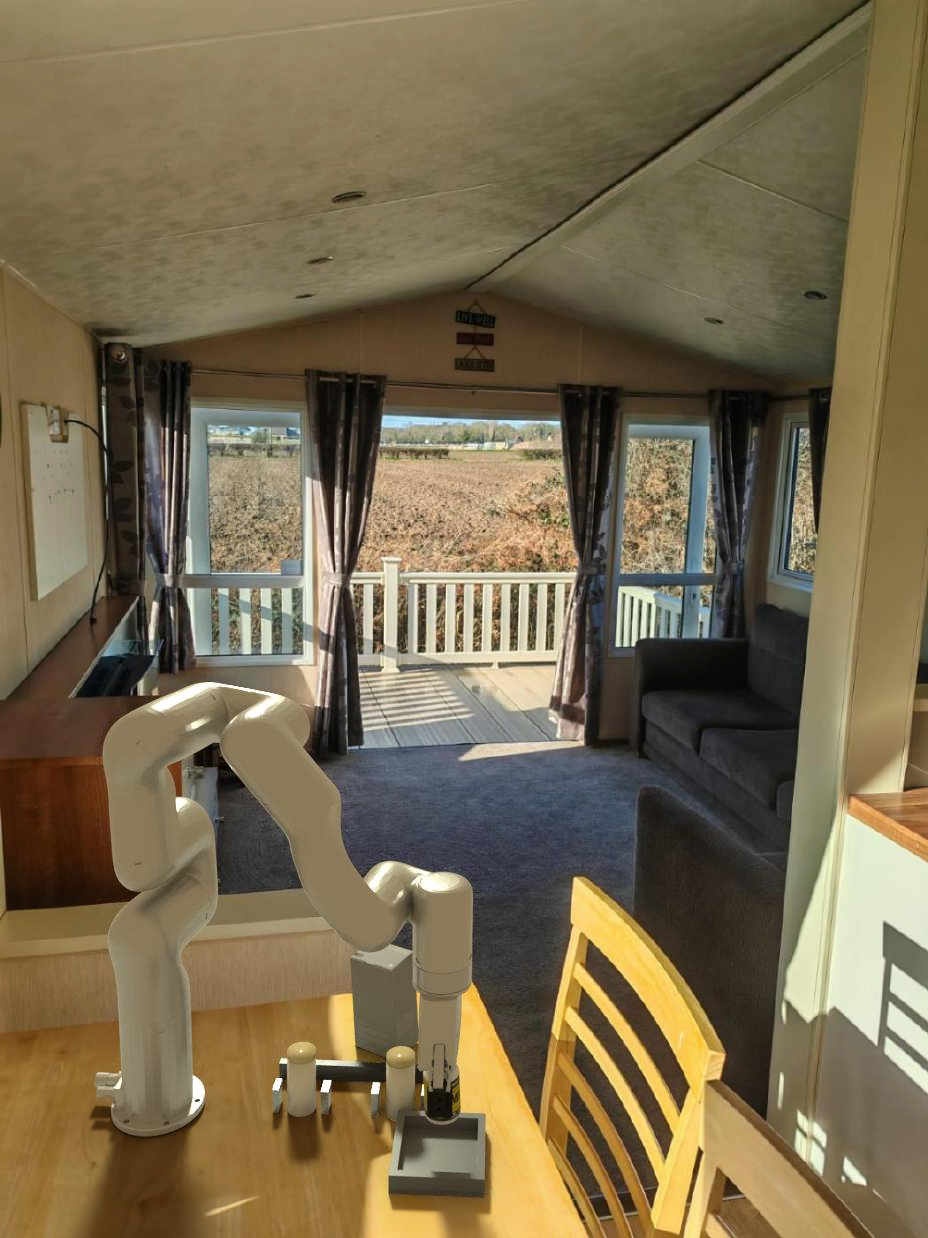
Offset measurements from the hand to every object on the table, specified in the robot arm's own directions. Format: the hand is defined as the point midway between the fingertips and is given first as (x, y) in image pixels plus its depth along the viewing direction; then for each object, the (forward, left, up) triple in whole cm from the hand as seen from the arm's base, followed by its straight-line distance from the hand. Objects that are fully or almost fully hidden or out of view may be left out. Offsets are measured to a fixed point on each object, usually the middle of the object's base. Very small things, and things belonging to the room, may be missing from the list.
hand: (440, 1100), depth 122 cm
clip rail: (-13, +12, -9) cm, 20 cm away
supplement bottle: (0, 0, -2) cm, 2 cm away
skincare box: (-10, +24, -9) cm, 28 cm away
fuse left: (-20, +9, -9) cm, 24 cm away
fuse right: (-6, +9, -9) cm, 14 cm away
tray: (0, 0, -9) cm, 9 cm away
